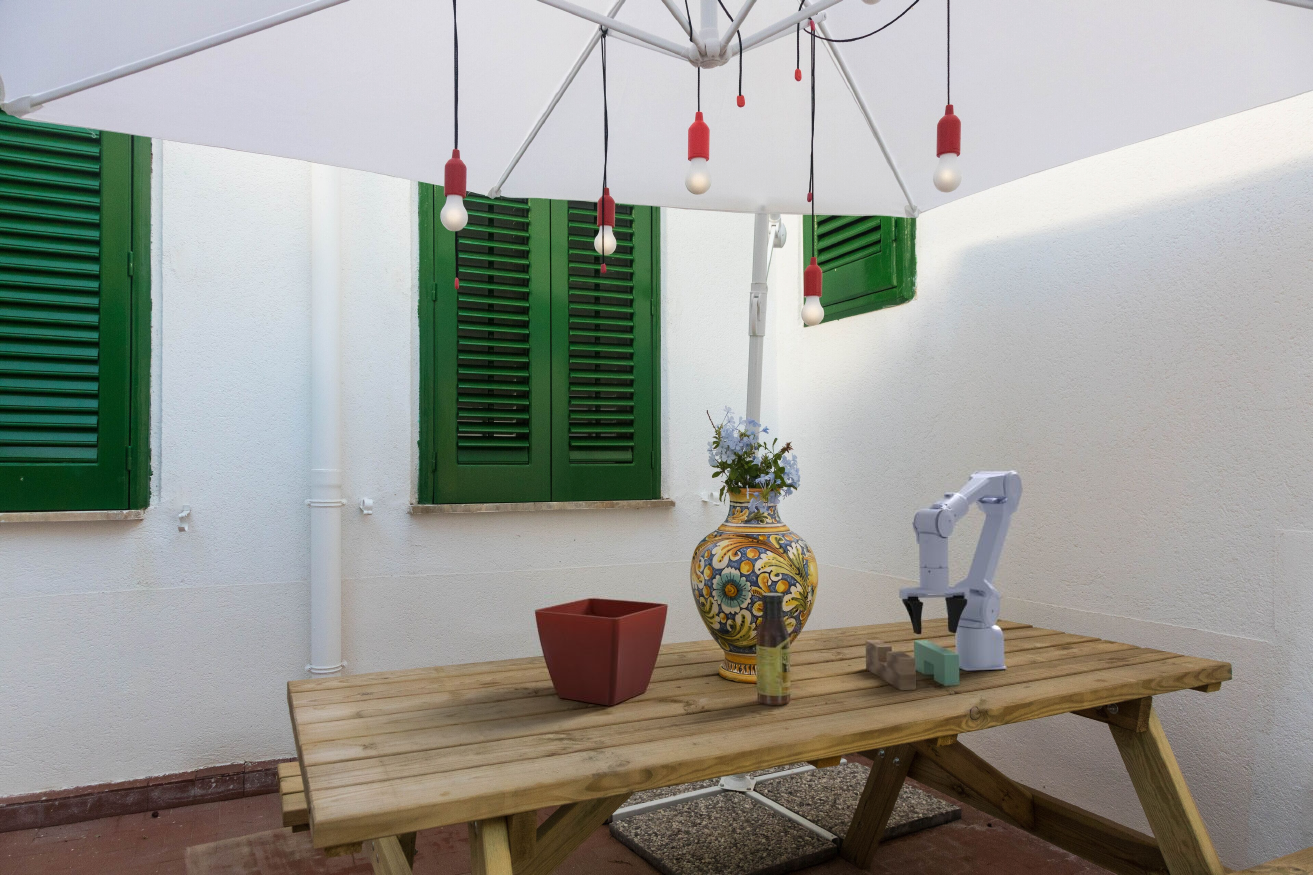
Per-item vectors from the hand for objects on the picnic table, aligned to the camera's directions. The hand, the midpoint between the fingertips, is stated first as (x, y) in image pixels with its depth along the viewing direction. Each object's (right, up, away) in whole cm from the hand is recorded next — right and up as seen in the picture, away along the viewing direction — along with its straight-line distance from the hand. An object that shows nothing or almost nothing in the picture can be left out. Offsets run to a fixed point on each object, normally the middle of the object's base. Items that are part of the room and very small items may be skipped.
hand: (935, 632), depth 174 cm
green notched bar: (0, -9, 0) cm, 9 cm away
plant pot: (-68, -9, -12) cm, 70 cm away
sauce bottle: (-36, -9, -18) cm, 41 cm away
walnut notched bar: (-10, -9, -2) cm, 13 cm away
